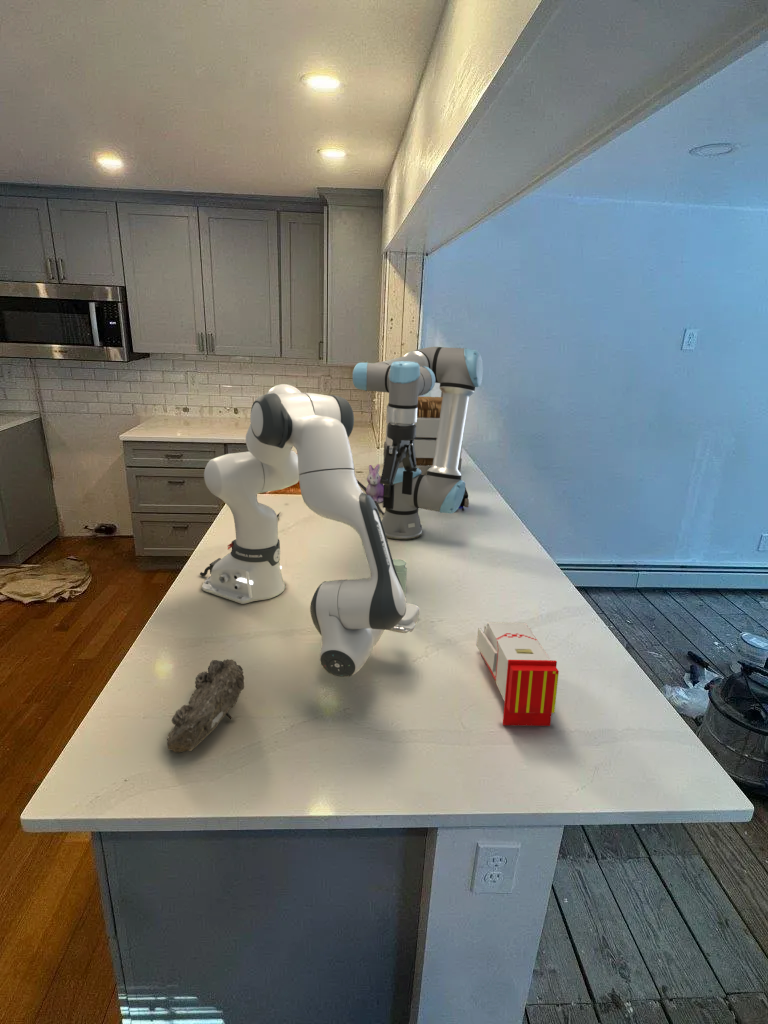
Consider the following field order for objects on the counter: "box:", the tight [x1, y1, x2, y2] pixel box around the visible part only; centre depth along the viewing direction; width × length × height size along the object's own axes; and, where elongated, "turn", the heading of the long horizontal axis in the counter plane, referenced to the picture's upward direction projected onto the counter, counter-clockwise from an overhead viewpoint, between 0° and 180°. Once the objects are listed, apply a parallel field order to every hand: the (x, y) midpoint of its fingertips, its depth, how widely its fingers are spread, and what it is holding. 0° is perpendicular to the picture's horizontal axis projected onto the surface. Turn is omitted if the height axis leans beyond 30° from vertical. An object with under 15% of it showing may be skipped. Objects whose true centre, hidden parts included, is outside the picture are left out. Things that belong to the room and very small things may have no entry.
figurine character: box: [458, 486, 470, 512], centre depth 229 cm, size 7×8×15 cm
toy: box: [476, 621, 560, 727], centre depth 120 cm, size 12×13×30 cm
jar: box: [392, 558, 408, 595], centre depth 145 cm, size 5×5×15 cm
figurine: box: [365, 463, 384, 504], centre depth 231 cm, size 9×10×15 cm
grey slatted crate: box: [383, 391, 464, 474], centre depth 268 cm, size 34×33×41 cm
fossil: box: [166, 658, 245, 754], centre depth 106 cm, size 22×10×15 cm
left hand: (383, 594), depth 133 cm, fingers open, 8 cm apart
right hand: (397, 500), depth 154 cm, fingers open, 13 cm apart
